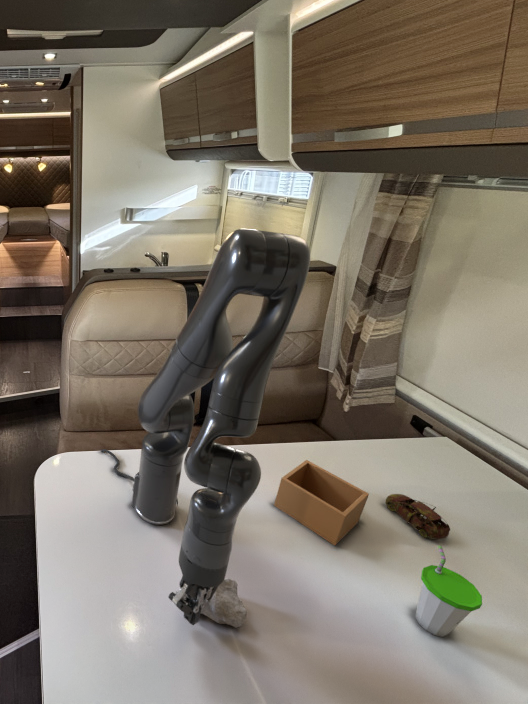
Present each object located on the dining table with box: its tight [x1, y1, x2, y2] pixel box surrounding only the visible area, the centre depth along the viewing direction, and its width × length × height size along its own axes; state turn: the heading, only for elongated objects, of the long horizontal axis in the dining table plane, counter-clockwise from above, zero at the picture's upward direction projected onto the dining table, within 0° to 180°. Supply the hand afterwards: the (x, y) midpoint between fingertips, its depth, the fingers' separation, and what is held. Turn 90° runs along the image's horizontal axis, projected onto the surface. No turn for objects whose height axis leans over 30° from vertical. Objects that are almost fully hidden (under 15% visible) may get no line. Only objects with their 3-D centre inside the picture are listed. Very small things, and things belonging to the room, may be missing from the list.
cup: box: [414, 545, 483, 638], centre depth 75 cm, size 8×8×15 cm
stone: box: [200, 577, 247, 628], centre depth 79 cm, size 8×10×6 cm
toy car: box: [384, 493, 451, 540], centre depth 99 cm, size 12×7×5 cm, turn 10°
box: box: [273, 459, 370, 546], centre depth 100 cm, size 12×14×9 cm
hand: (191, 619), depth 77 cm, fingers closed
